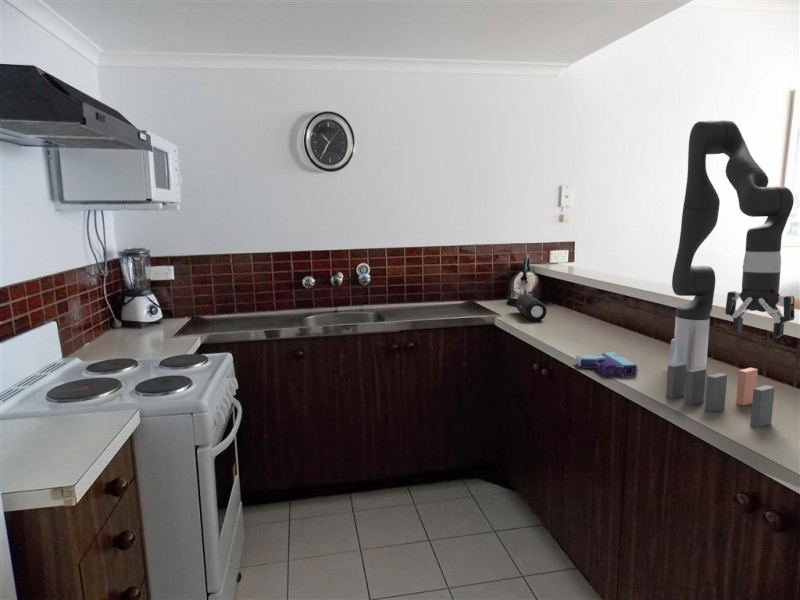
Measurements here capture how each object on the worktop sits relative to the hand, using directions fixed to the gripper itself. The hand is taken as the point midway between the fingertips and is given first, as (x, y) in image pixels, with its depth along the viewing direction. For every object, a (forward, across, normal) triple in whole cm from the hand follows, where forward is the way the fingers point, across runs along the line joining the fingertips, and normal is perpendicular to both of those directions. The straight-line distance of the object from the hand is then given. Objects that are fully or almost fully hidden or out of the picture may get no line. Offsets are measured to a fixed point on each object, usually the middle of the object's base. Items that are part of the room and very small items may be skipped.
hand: (756, 335), depth 127 cm
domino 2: (+19, +11, +7) cm, 23 cm away
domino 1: (+19, +16, +6) cm, 26 cm away
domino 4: (+19, +3, -3) cm, 20 cm away
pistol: (+19, +43, +2) cm, 47 cm away
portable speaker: (+15, +119, -43) cm, 127 cm away
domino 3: (+19, +5, +8) cm, 21 cm away
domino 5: (+19, -6, +9) cm, 22 cm away
